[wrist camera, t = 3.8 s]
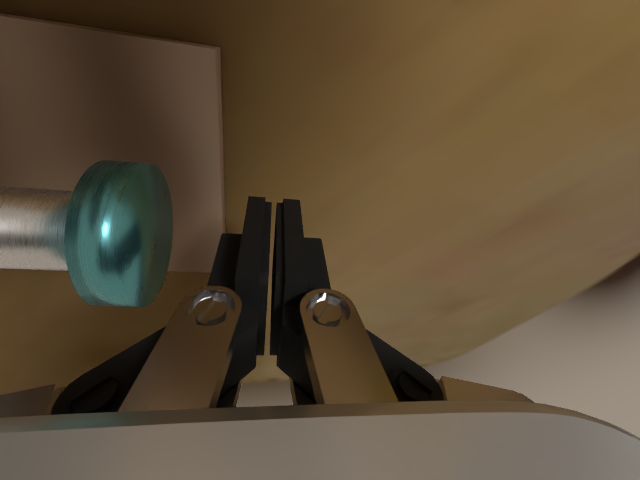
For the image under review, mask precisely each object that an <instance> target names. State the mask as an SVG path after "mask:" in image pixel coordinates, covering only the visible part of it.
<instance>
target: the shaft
mask: <svg viewBox="0 0 640 480" xmlns="http://www.w3.org/2000/svg"><path fill="white" fill-rule="evenodd" d="M172 239H173V211H172V202H171V196H170V191H169V187H168V184H167V181H166V179H165V177H164V175H163V173H162V171H161V170H160V169H159V168H158V167H157V166H155V165H153V164H146V163H135V162H124V161H113V160H101V161H98V162H96V163H94V164H93V165H91V166H90V167H89V168H88V169H87V170H86V171H85V172H84V174H83V175H82V176H81V178H80V179H79V181H78V183H77V185H76V187H75V189H74V191H63V190H50V189H37V188H23V187H10V186H0V268H4V269H31V270H59V271H68V273H69V276H70V279H71V281H72V284H73V286H74V288H75V290H76V291H77V293H78V294H79V296H80V297H81V298H82V299H83V300H84V301H85V302H87V303H89V304H91V305H94V306H123V307H145V306H147V305H149V304H150V303H151V302H152V301H153V300H154V299H155V298H156V296H157V295H158V293H159V291H160V289H161V287H162V285H163V282H164V280H165V277H166V273H167V270H168V266H169V261H170V255H171V249H172Z"/></svg>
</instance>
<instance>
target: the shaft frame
mask: <svg viewBox="0 0 640 480" xmlns="http://www.w3.org/2000/svg"><path fill="white" fill-rule="evenodd" d="M101 160H113V161H124V162H135V163H146V164H153V165H155V166H157V167H158V168H159V169H160V170H161V171H162V173H163V175H164V177H165V179H166V181H167V184H168V187H169V191H170V196H171V202H172V211H173V239H172V249H171V255H170V261H169V266H168V270H167V271H173V272H200V273H211V271H212V267H213V263H214V260H215V256H216V252H217V248H218V245H219V241H220V237H221V234H222V233H226V220H225V187H224V154H223V121H222V88H221V55H220V47H217V46H210V45H204V44H197V43H191V42H185V41H178V40H172V39H165V38H159V37H152V36H146V35H140V34H133V33H127V32H120V31H114V30H107V29H101V28H95V27H88V26H82V25H75V24H69V23H62V22H56V21H50V20H43V19H37V18H30V17H24V16H18V15H11V14H5V13H0V186H10V187H23V188H37V189H50V190H63V191H74V189H75V187H76V185H77V183H78V181H79V179H80V178H81V176H82V175H83V174H84V172H85V171H86V170H87V169H88V168H89V167H90V166H91V165H93V164H94V163H96V162H98V161H101Z"/></svg>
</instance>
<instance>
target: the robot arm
mask: <svg viewBox="0 0 640 480" xmlns="http://www.w3.org/2000/svg"><path fill="white" fill-rule="evenodd" d="M271 206H272V202H265V197H251V196H249V198H248V204H247V209H246V215H245V221H244V227H243V233H242V234H227V233H222V234H221V237H220V241H219V245H218V248H217V252H216V256H215V260H214V263H213V267H212V271H211V274H210V278H209V282H208V286H206V287H201V288H199V289H196V290H194V291H192V292H190V293H189V294H187V295H186V296H185V297H184V298H183V299H182V301H181V302H180V303H179V305H178V307H177V308H176V310H175V312H174V314H173V315H172V317H171V319H170V321H169V322H168V324H167V326H166V327H164V328H162V329H160V330H159V331H157V332H155V333H154V334H152V335H150V336H148V337H147V338H145V339H143V340H142V341H140V342H138V343H136V344H135V345H133V346H131V347H130V348H128V349H126V350H124V351H123V352H121V353H119V354H118V355H116V356H114V357H112V358H111V359H109V360H107V361H106V362H104V363H102V364H100V365H99V366H97V367H95V368H93V369H92V370H90V371H88V372H87V373H85V374H83V375H82V376H80V377H79V378H77V379H76V380H75V381H73V382H72V383H70V384H69V385H68V386H67V387H64V388H59V389H58V388H57V386H56V384H54V385H49V386H44V387H39V388H34V389H29V390H24V391H20V392H15V393H10V394H5V395H0V480H640V438H639V437H637V436H636V435H634V434H632V433H630V432H628V431H626V430H624V429H622V428H620V427H618V426H615V425H613V424H611V423H608V422H606V421H603V420H600V419H597V418H594V417H591V416H589V415H586V414H583V413H580V412H577V411H574V410H569V409H564V408H561V407H555V406H551V405H547V404H540V403H534V402H533V401H532V400H531V399H529V398H527V397H526V396H525V395H523V394H521V393H518V392H515V391H513V390H508V389H503V388H498V387H493V386H488V385H483V384H479V383H473V382H469V381H463V380H459V379H454V378H449V377H444V376H442V377H441V379H440V380H438V379H435V378H434V377H433V376H432V375H431V374H430V373H428V372H427V371H426V370H425V369H423V368H422V367H421V366H419V365H418V364H416V363H415V362H413V361H412V360H410V359H409V358H407V357H406V356H404V355H403V354H402V353H400V352H399V351H397V350H396V349H394V348H393V347H391V346H390V345H388V344H387V343H385V342H384V341H383V340H381V339H380V338H378V337H377V336H375V335H374V334H372V333H371V332H369V331H368V330H366V329H365V327H364V325H363V323H362V320H361V318H360V316H359V314H358V312H357V309H356V307H355V305H354V304H353V302H352V301H351V300H350V299H349V298H348V297H347V296H346V295H344V294H342V293H340V292H338V291H336V290H332V289H331V287H330V282H329V277H328V272H327V266H326V261H325V256H324V251H323V245H322V241H321V239H320V238H304V234H303V225H302V216H301V207H300V200H292V199H283V203H277V207H276V222H275V237H274V252H273V267H272V297H271V332H270V355H277V366H279V368H280V369H281V370H282V371H283V372H284V373H285V374H286V375H288V376H289V384H290V385H289V386H290V391H291V396H292V401H293V405H290V406H261V407H236V405H237V401H238V398H239V393H240V390H241V386H242V379H243V378H244V377H245V376H246V375H247V374H248V373H250V372H251V371H252V370H253V369H254V368H255V367H256V355H264V345H265V328H266V311H267V294H268V276H269V253H270V230H271Z"/></svg>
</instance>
